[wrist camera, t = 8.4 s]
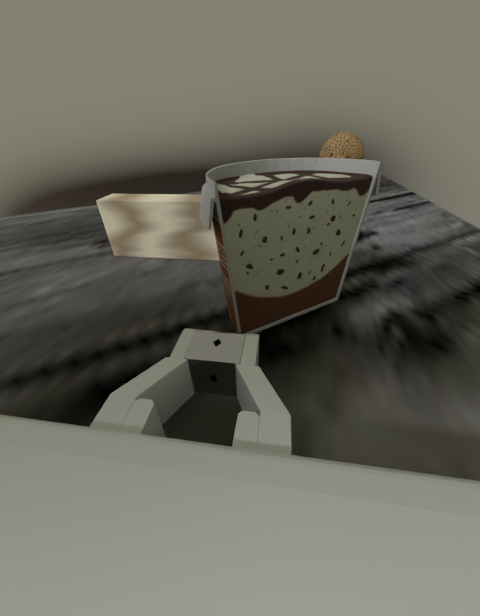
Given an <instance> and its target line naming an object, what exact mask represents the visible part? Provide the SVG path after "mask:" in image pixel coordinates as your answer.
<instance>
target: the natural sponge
mask: <svg viewBox="0 0 480 616" xmlns="http://www.w3.org/2000/svg"><path fill="white" fill-rule="evenodd" d="M363 156H364V146H363V143H362V141H361V140H360V138H359V137H358V136H357V135H355V134H353V133H351V132H348V131H344V132H340V133H338V134H336V135H335V136H333V137H332V138H330V139H329V140H328V141H327V142H326V143H325V144H324V146H323V148H322V150H321V152H320V155H319V158H344V159H361V160H362V159H363Z"/></svg>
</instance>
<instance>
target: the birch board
mask: <svg viewBox="0 0 480 616" xmlns="http://www.w3.org/2000/svg"><path fill="white" fill-rule="evenodd" d="M96 202H97V205H98V208H99V211H100V214H101V217H102V220H103V223H104V226H105V229H106V232H107V235H108V238H109V241H110V244H111V247H112V250H113V253H114V256H129V257H151V258H172V259H194V260H215V261H220V260H219V255H218V249H217V244H216V238H215V233H214V228H213V222H212V227H211V230H208V229H207V228H206V227H205V226H204V225H203V224H202V222H201V220H200V206H201V195H175V194H168V195H167V194H111V195H109V196H106V197H104V198H101V199H99V200H97V201H96Z"/></svg>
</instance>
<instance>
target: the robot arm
mask: <svg viewBox="0 0 480 616" xmlns="http://www.w3.org/2000/svg"><path fill="white" fill-rule="evenodd" d="M258 360H259V334H247V333H246V334H244V333H231V332H218V331H209V330H199V329H197V330H196V329H187V328H185V329H184V330H183V331H182V333H181V335H180V337H179V339H178V341H177V343H176V345H175V347H174V349H173V351H172V353H171V355H170V357H165V358H164V359H162V360H161V361H159V362H158V363H156V364H155V365H153V366H152V367H150V368H149V369H147V370H146V371H144V372H143V373H141V374H140V375H138V376H137V377H135V378H134V379H132V380H131V381H129V382H128V383H126V384H125V385H123V386H121V387H120V388H118V389H117V390H115V391H114V392H112V393H111V394H110V396H109V397H108V399H107V400H106V402H105V403H104V405H103V406H102V408H101V409H100V411H99V413H98V414H97V416H96V417H95V419H94V420H93V422H92V423H91V425H90V426H89V427H87V426H79V425H72V424H65V423H58V422H51V421H43V420H36V419H29V418H22V417H15V416H7V415H0V616H480V481H477V480H470V479H463V478H455V477H448V476H441V475H434V474H426V473H419V472H412V471H405V470H398V469H390V468H383V467H376V466H369V465H361V464H354V463H347V462H340V461H333V460H325V459H318V458H311V457H304V456H296V455H291V415H290V413H289V412H288V410H287V409H286V407H285V406H284V404H283V403H282V401H281V399H280V398H279V396H278V395H277V393H276V392H275V390H274V389H273V387H272V385H271V384H270V382H269V381H268V379H267V378H266V376H265V375H264V373H263V371H262V370H261V368H260V367H259V366H258ZM194 392H200V393H212V394H221V395H228V396H235V397H237V399H238V401H239V404H240V406H241V408H242V411H241V412H240V413H238V417H237V422H236V428H235V433H234V439H233V444H232V447H231V446H224V445H217V444H210V443H202V442H195V441H188V440H181V439H173V438H166V435H165V432H164V430H163V427H162V425H163V424H164V423H165V422H166V421H167V420H168V419H169V418H170V417H171V416H172V415H173V414H174V413H175V412H176V411H177V410H178V409H179V408H180V407H181V406H182V405H183V404H184V403H185V402H186V401H187V400H188V399H189V398H190V397H191V396H192V395H193V394H194Z"/></svg>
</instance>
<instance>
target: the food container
mask: <svg viewBox="0 0 480 616" xmlns="http://www.w3.org/2000/svg"><path fill="white" fill-rule="evenodd" d="M380 166H381V161H372V160H361V159H344V158H282V159H266V160H255V161H246V162H239V163H233V164H227V165H223V166H219V167H216V168H213V169H211V170H209V171H208V172H207V173H206V183H205V184H204V185H203V187H202V194H201V206H200V220H201V222H202V224H203V225H204V226H205V227H206V228H207V229H208V230H211V227H212V222H213V228H214V233H215V238H216V244H217V249H218V255H219V260H220V266H221V271H222V277H223V282H224V288H225V293H226V299H227V304H228V310H229V315H230V321H231V326H232V328H233V331H234V333H244V334H246V333H247V334H254V333H257V332H259V331H262V330H264V329H267V328H270V327H272V326H275V325H277V324H280V323H282V322H285V321H287V320H290V319H292V318H295V317H297V316H300V315H302V314H305V313H307V312H310V311H312V310H315V309H317V308H320V307H322V306H325V305H327V304H330V303H332V302H335V301H337V300H338V298H339V295H340V292H341V289H342V286H343V283H344V280H345V276H346V273H347V270H348V267H349V264H350V261H351V258H352V255H353V251H354V248H355V245H356V242H357V239H358V236H359V233H360V230H361V226H362V223H363V220H364V217H365V214H366V211H367V208H368V204H369V201H370V198H371V195H372V196H377V195H378V191H379V184H380V177H381V173H379V169H380Z"/></svg>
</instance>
